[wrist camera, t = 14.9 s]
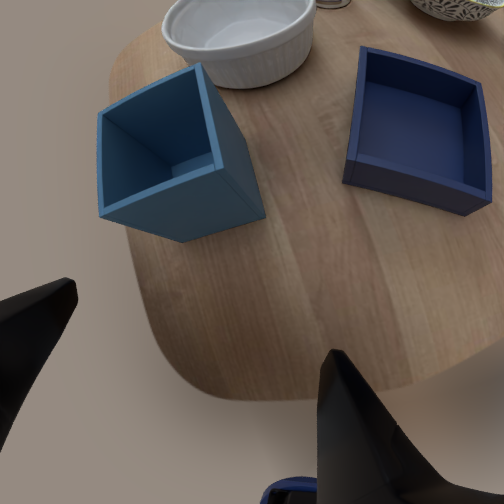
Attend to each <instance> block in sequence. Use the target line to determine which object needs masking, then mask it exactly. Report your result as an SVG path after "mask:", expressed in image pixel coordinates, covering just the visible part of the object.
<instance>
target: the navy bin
mask: <svg viewBox="0 0 504 504" xmlns="http://www.w3.org/2000/svg"><path fill="white" fill-rule="evenodd" d="M342 183H344V184H348V185H353V186H357V187H361V188H365V189H370V190H374V191H378V192H382V193H386V194H389V195H393V196H397V197H401V198H405V199H408V200H412V201H415V202H419V203H422V204H426V205H429V206H432V207H436V208H439V209H442V210H446V211H449V212H452V213H455V214H458V215H461V216H464V217H465V216H467V215H469V214H471V213H473V212H475V211H477V210H479V209H480V208H482V207H484V206H486V205H488V204H490V203H492V165H491V149H490V138H489V129H488V121H487V114H486V107H485V101H484V96H483V90H482V85H481V83H480V82H477V81H475V80H473V79H470V78H468V77H465V76H463V75H460V74H458V73H455V72H453V71H450V70H447V69H445V68H442V67H439V66H436V65H433V64H430V63H427V62H424V61H421V60H417V59H414V58H410V57H407V56H403V55H400V54H396V53H392V52H388V51H383V50H379V49H374V48H370V47H368V48H367V47H365V46H360V52H359V62H358V72H357V82H356V91H355V99H354V108H353V115H352V123H351V130H350V137H349V143H348V150H347V156H346V162H345V168H344V174H343V180H342Z"/></svg>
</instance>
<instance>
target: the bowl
mask: <svg viewBox="0 0 504 504" xmlns="http://www.w3.org/2000/svg"><path fill="white" fill-rule="evenodd" d="M411 2H412V3H413V4H414V5H415V6H416V7H418V8H419V9H420V10H422V11H423V12H425V13H427V14H429V15H431V16H433V17H436V18H438V19H441V20H445V21H456V20H460V21H475V20H479V19H482V18H484V17H486V16H488V15H489V14H491V13H492V12H494V11H496V10H497V9H499V8H502V7H504V0H411Z"/></svg>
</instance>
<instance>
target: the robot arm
mask: <svg viewBox="0 0 504 504" xmlns="http://www.w3.org/2000/svg"><path fill="white" fill-rule="evenodd" d="M77 303H78V294H77V288H76V283H75V281H74V280H72V279H69V278H66V277H65V278H62V279H59V280H56V281H53V282H51V283H48V284H45V285H42V286H39V287H37V288H34V289H31V290H29V291H26V292H23V293H20V294H18V295H15V296H12V297H10V298H7V299H4V300H2V301H0V452H1V450H2V447H3V445H4V443H5V440H6V438H7V436H8V434H9V431H10V429H11V427H12V425H13V422H14V420H15V418H16V416H17V414H18V412H19V410H20V408H21V406H22V404H23V402H24V400H25V398H26V396H27V394H28V393H29V391H30V389H31V387H32V385H33V383H34V381H35V379H36V377H37V376H38V374H39V372H40V371H41V369H42V367H43V365H44V364H45V362H46V360H47V359H48V357H49V355H50V354H51V352H52V350H53V349H54V347H55V345H56V344H57V342H58V340H59V339H60V337H61V335H62V333H63V331H64V329H65V327H66V325H67V323H68V321H69V319H70V317H71V316H72V313H73V312H74V310H75V308H76V306H77ZM317 450H318V451H317V459H318V460H317V466H318V467H317V492H305V491H294V490H285V489H277V488H273V489H271V490H270V492H269V496H268V502H267V504H504V495H500V494H492V493H488V492H483V491H478V490H474V489H470V488H465V487H462V486H458V485H455V484H452V483H450V482H448V481H447V480H445V479H444V478H443V477H442V476H441V475H440V474H439V473H438V472H437V471H436V470H435V469H434V468H433V467H432V465H431V464H430V463H429V462H428V461H427V460H426V459H425V458H424V457H423V455H421V453H420V452H419V451H418V450H417V448H416V447H415V446H414V445H413V444H412V442H411V441H410V440H409V439H408V437H407V436H406V435H405V433H404V432H403V431H402V429H401V428H400V427H399V425H397V423H396V421H395V420H394V419H393V417H392V416H391V414H390V413H389V412H388V411H387V409H386V408H385V406H384V405H383V403H382V402H381V401H380V399H379V398H378V397H377V395H376V394H375V393H374V391H373V390H372V388H371V387H370V386H369V384H368V383H367V382H366V380H365V379H364V378H363V376H362V375H361V374H360V372H359V371H358V370H357V368H356V367H355V366H354V364H353V363H352V361H351V360H350V359H349V357H348V356H347V355H346V353H345V352H344V351H343V350H338V349H331V350H330V351H329V353H328V355H327V356H326V358H325V360H324V362H323V363H322V366H321V369H320V380H319V392H318V403H317ZM273 492H275V493H273Z"/></svg>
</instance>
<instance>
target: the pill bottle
mask: <svg viewBox="0 0 504 504" xmlns="http://www.w3.org/2000/svg"><path fill="white" fill-rule="evenodd" d="M349 2H350V0H316V6H319V7H323V8H338V7H342V6H345V5H347V4H348V3H349Z"/></svg>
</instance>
